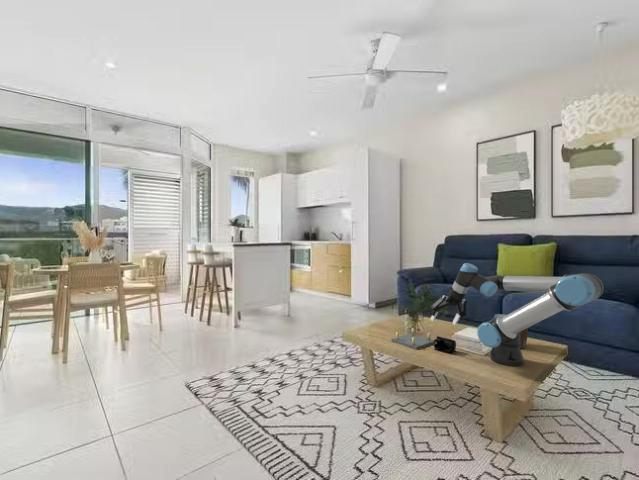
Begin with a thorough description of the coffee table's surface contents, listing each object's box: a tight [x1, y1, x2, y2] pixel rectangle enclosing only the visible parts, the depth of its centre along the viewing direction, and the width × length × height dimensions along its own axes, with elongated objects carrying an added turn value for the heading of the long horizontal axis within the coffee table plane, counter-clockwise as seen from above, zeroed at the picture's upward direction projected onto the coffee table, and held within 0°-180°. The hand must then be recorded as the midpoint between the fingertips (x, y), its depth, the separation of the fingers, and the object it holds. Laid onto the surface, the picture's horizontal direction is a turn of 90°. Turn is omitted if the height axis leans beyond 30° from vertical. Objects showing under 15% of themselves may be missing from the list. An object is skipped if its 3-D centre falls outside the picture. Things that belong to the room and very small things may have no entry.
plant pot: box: [503, 313, 530, 349], centre depth 193 cm, size 16×16×16 cm
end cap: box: [433, 335, 457, 355], centre depth 184 cm, size 10×7×7 cm
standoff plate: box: [390, 327, 436, 351], centre depth 198 cm, size 18×18×6 cm
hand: (442, 322), depth 185 cm, fingers open, 13 cm apart
